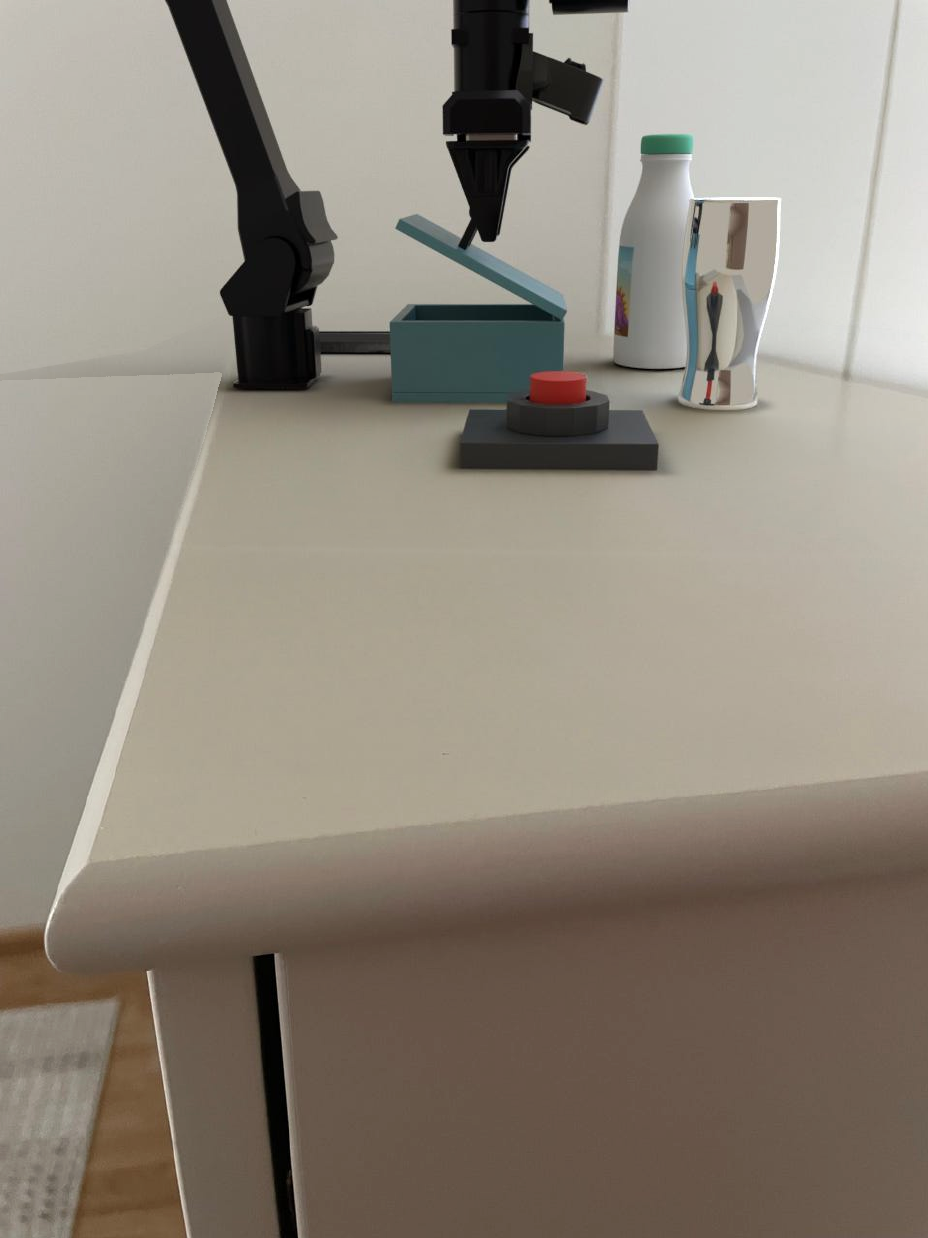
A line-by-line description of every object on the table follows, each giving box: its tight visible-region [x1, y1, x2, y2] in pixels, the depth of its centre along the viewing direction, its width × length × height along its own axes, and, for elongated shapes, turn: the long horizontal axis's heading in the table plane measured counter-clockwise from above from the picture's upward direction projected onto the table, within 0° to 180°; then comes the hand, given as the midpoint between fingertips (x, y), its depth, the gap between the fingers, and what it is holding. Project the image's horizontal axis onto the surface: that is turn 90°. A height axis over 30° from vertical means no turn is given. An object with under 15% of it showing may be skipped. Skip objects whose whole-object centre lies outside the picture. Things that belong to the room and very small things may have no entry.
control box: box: [459, 389, 660, 471], centre depth 67 cm, size 12×10×4 cm
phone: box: [319, 330, 391, 353], centre depth 110 cm, size 8×1×15 cm
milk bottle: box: [613, 133, 695, 370], centre depth 96 cm, size 8×8×20 cm
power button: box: [530, 370, 588, 404], centre depth 66 cm, size 4×4×2 cm
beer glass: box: [677, 197, 782, 411], centre depth 79 cm, size 7×7×15 cm
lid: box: [395, 207, 568, 320], centre depth 84 cm, size 14×13×5 cm
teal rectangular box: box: [389, 303, 566, 403], centre depth 87 cm, size 14×13×6 cm
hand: (491, 238), depth 84 cm, fingers open, 9 cm apart
